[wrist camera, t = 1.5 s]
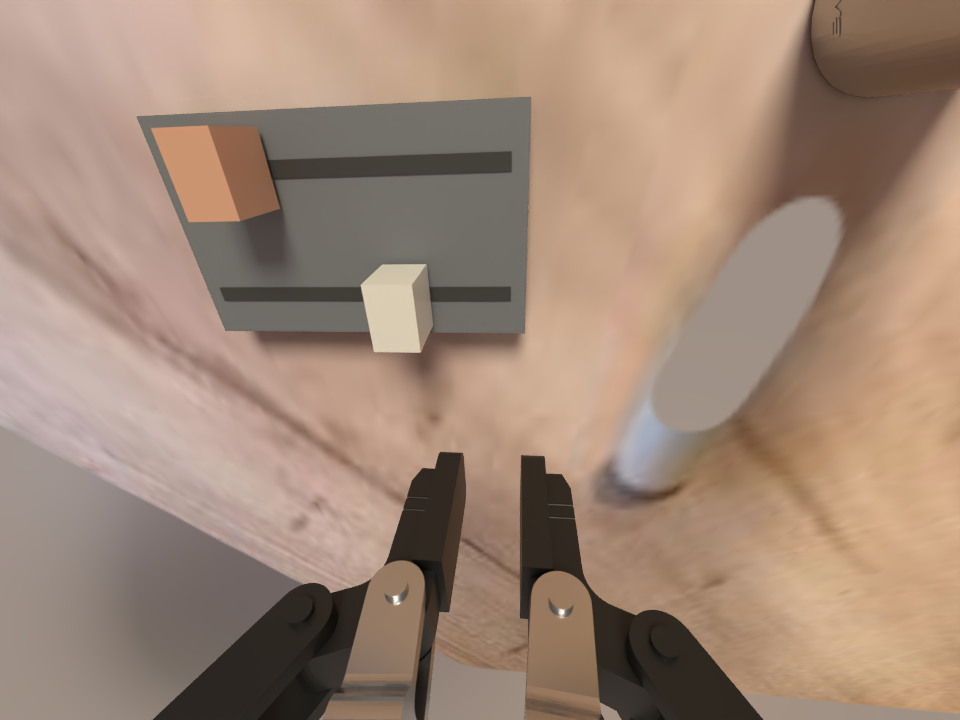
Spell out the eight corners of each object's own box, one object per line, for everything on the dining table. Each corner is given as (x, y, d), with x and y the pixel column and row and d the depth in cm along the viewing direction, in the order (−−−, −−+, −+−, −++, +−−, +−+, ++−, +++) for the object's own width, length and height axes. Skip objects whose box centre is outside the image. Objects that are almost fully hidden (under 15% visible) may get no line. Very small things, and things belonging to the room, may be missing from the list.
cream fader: (426, 264, 25) (411, 284, 22) (433, 325, 27) (420, 352, 24) (382, 264, 25) (360, 285, 22) (392, 324, 27) (374, 352, 24)
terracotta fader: (256, 126, 22) (207, 125, 18) (280, 208, 24) (240, 221, 21) (208, 128, 22) (150, 127, 19) (235, 209, 24) (188, 222, 21)
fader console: (529, 101, 23) (531, 96, 20) (524, 316, 30) (524, 334, 27) (176, 118, 25) (134, 116, 22) (249, 314, 32) (224, 331, 29)
